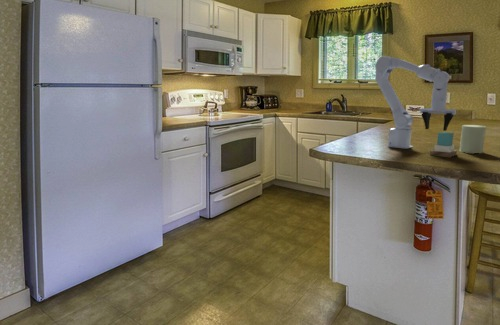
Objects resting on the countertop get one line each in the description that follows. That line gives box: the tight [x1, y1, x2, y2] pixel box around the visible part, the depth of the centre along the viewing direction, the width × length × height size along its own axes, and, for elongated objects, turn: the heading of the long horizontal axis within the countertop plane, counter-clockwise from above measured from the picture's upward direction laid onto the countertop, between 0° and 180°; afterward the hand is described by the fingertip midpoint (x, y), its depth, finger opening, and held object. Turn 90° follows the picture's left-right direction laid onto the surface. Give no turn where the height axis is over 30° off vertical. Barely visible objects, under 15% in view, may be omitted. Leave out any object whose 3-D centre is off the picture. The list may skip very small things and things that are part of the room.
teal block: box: [436, 131, 455, 146], centre depth 155 cm, size 4×4×5 cm
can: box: [459, 124, 487, 154], centre depth 163 cm, size 9×9×12 cm
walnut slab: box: [429, 149, 458, 158], centre depth 157 cm, size 8×8×2 cm
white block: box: [433, 144, 455, 153], centre depth 156 cm, size 6×6×2 cm
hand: (435, 129), depth 166 cm, fingers open, 7 cm apart
